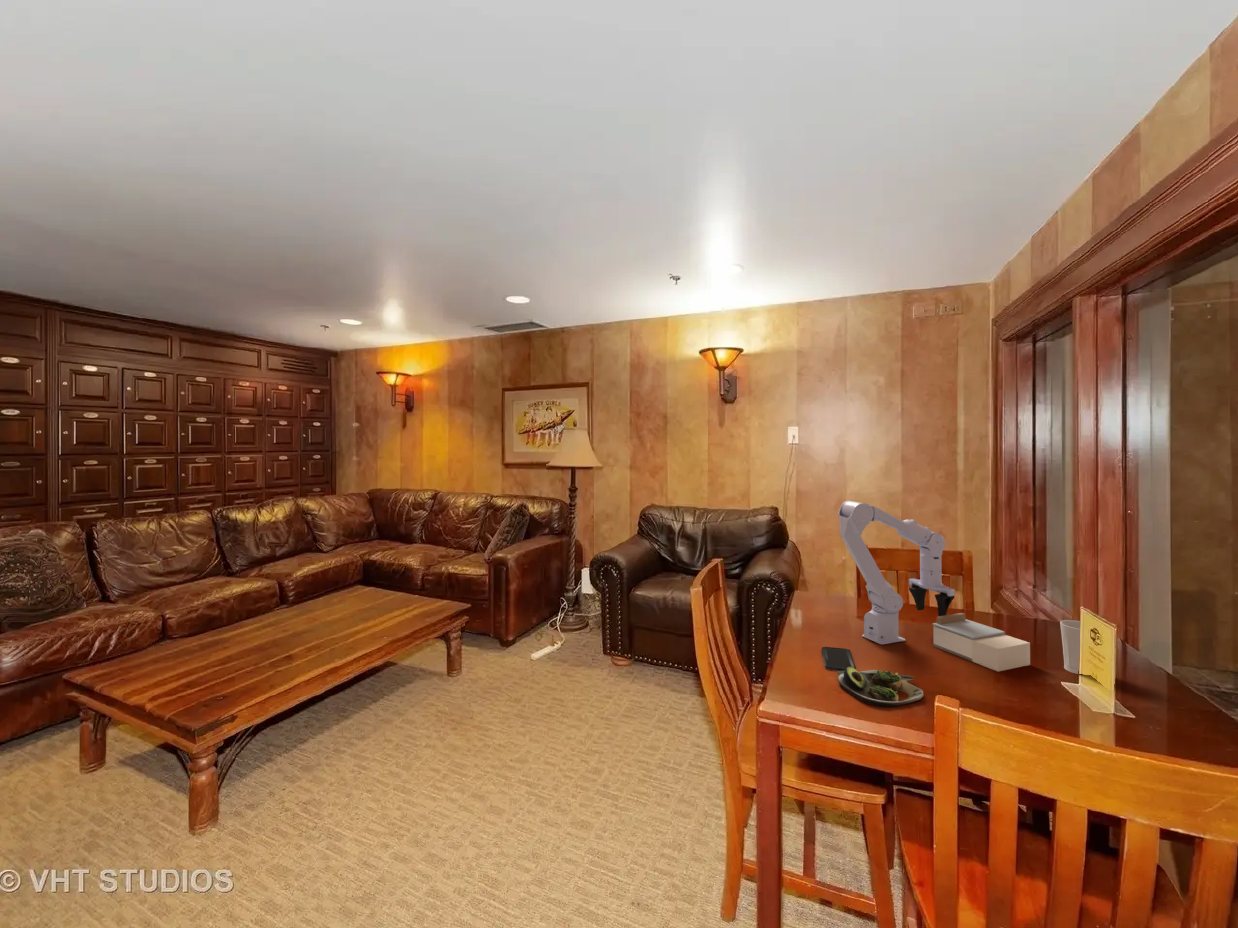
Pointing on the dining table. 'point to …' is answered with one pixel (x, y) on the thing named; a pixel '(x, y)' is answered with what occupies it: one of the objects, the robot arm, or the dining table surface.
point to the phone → (837, 658)
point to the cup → (1071, 644)
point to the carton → (985, 649)
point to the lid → (965, 626)
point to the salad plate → (878, 686)
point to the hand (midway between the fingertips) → (931, 613)
